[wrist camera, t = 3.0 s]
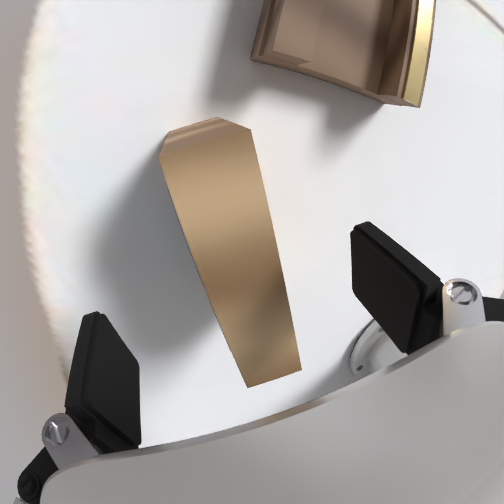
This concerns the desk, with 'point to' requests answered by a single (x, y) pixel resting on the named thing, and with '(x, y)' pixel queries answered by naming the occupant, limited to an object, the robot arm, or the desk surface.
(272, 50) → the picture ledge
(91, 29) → the desk surface
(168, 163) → the wooden picture frame
